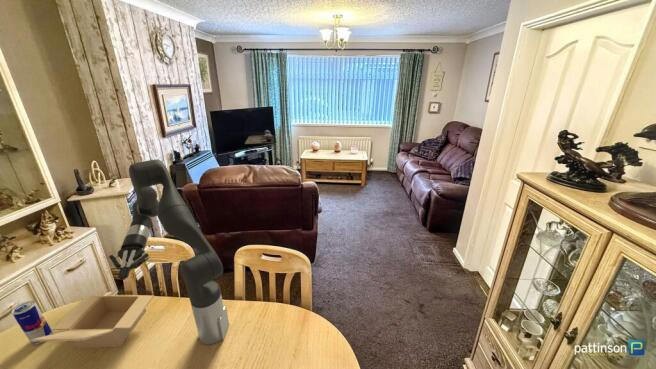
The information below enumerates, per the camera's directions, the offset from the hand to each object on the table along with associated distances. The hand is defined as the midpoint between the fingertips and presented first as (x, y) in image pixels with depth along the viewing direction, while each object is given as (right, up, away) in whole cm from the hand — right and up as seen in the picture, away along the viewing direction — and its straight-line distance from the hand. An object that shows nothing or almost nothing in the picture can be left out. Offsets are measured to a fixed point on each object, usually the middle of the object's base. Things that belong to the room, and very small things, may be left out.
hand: (122, 278), depth 90 cm
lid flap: (-2, -11, -15) cm, 19 cm away
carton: (-3, -18, 0) cm, 18 cm away
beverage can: (-24, -19, -4) cm, 31 cm away
